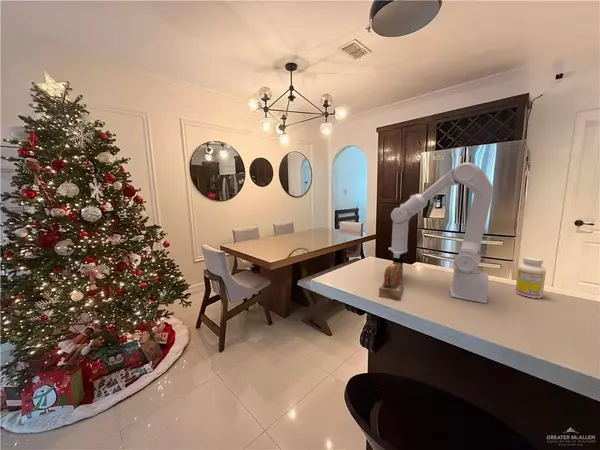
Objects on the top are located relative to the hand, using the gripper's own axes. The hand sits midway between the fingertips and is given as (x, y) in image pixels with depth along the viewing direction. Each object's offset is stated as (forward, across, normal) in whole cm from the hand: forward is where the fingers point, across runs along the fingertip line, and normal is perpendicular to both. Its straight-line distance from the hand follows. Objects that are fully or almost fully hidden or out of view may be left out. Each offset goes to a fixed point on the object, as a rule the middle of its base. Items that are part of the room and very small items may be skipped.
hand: (397, 271), depth 95 cm
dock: (+3, +14, 0) cm, 15 cm away
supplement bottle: (+4, -6, +41) cm, 42 cm away
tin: (+4, +8, 0) cm, 9 cm away
